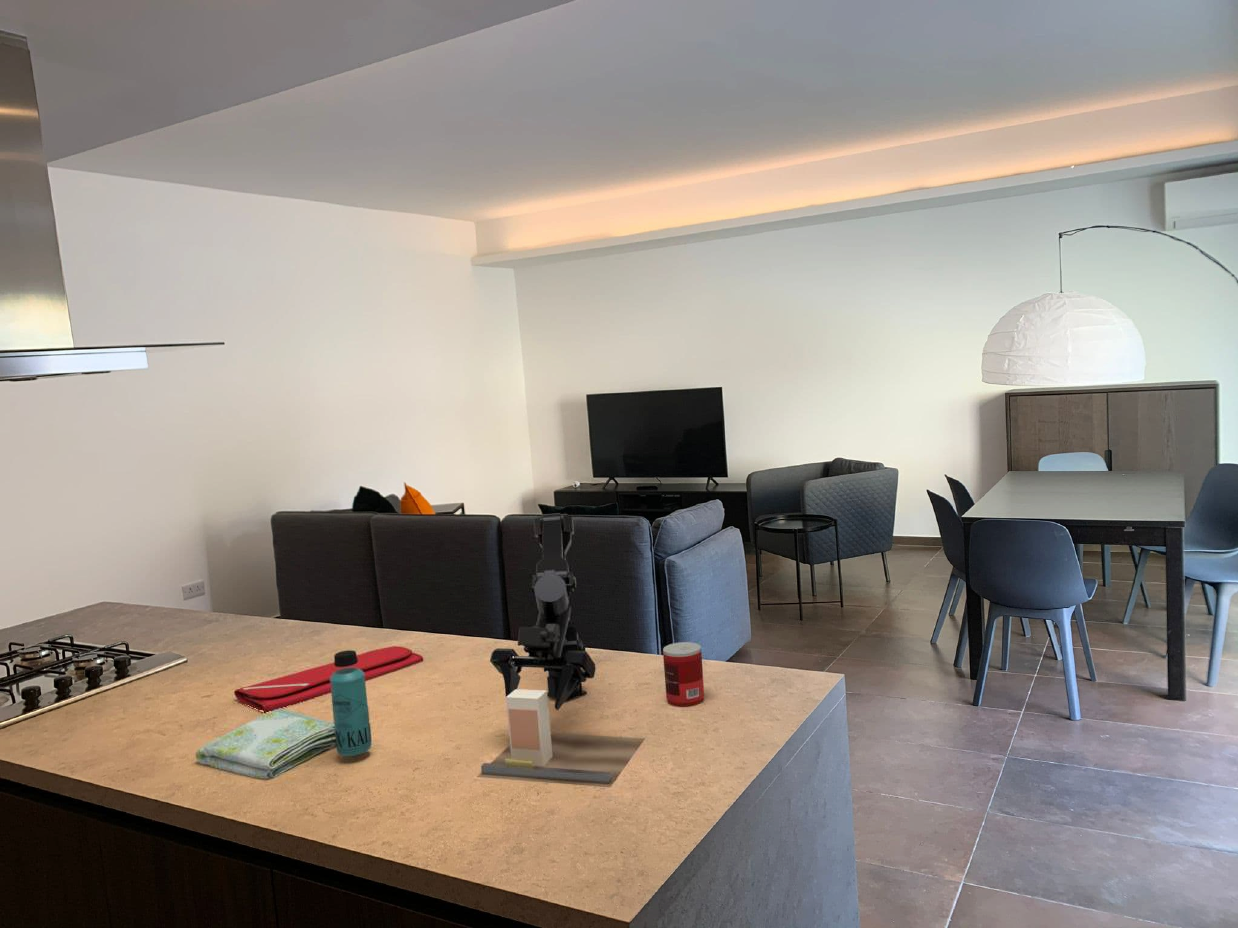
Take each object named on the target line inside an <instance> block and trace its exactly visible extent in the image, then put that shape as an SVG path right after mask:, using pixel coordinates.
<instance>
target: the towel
mask: <svg viewBox="0 0 1238 928" xmlns="http://www.w3.org/2000/svg"><path fill="white" fill-rule="evenodd" d="M333 723H334V721H326V720H322V719H319V718H315V717H312V716H310V715H306V714H303V713H298V712H296V711H291V710H286V709H283V708H282V709H276V710H273V711H271V712H269V713H266V714H262V715H261V716H259V717H257V718H255V719H253V720H251V721H249V722H247V723H245V724H244V725H241V726H239V727H237V728H235V729H233V730H231V731H229V732H227V733H225V734H223V735H221V736H219V737H217V738H215V739H213V740H211V741H210V742H207V743H205V744H204V745H202V746H201V747H199V748H198V749H196V751H195V755H194V756H195V759H196V760H197V762H199V764H200V765H203V766H205V765H206V766H210V767H212V768H215V769H220V770H223V771H227V772H231V773H234V774H239V775H242V776H247V777H250V778H254V779H258V780H270V779H271V778H276V777H278V776H280V775H282V774H283V773H285V772H286V771H288V770H290V769H292V768H293V767H296V766H297V765H300V764H302V763H304V762H306V761H308V760H310V758H311V759H312V757H314V756H315V755H317V754H319V753H321V752H323V751H325V750H330V749H333V748H336V746H335V745H336V743H335V739H336V736H335V735H334V733H335V726H334V724H333Z"/></svg>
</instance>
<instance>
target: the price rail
mask: <svg viewBox="0 0 1238 928" xmlns="http://www.w3.org/2000/svg"><path fill="white" fill-rule="evenodd" d="M481 772H482V775H495V776H508V777H521V778H534V779H547V780H560V781H573V782H586V783H599V784H610V783H611V781H612V778H611V772H602V771H588V770H574V769H561V768H547V767H533V761H532V760H518V759H505V764H491V762H490V763H489V762H484V763H482V764H481V766H480V773H481Z"/></svg>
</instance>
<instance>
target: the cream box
mask: <svg viewBox="0 0 1238 928" xmlns="http://www.w3.org/2000/svg"><path fill="white" fill-rule="evenodd" d="M547 692H548V689H547V690H543V689H524V688H523V689H519V688H517V689H515V690H514V691H513V692H512V693H510V694H509V695H508V696H507V697H506V696H505V703H506V712H507V714H506V715H507V724H508V725H507V726H508V735H509V745H510V748H511V759H518V760H532V761H533V766H545V764H546V763H547V762H548V761H549V760H550V759H551V758H552V757H553V755H552V744H551V733H552V732H551V721H550V712H549V711H550V709H549V698H548V697H549V696H547Z"/></svg>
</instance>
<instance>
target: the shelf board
mask: <svg viewBox="0 0 1238 928" xmlns="http://www.w3.org/2000/svg"><path fill="white" fill-rule="evenodd" d="M645 739H646V738H645V737H628V736H611V735H595V734H593V735H592V734H581V733H580V734H577V733H563V732H561V733H559V732H558V733H557V732H551V744H552V755H553V757H552V758H551V759H550V760H549V761H548V762H547V763H546V764H545V766H533V767H547V768H561V769H574V770H588V771H602V772H611V778H612V781H611V783H610V784H599V783H586V782H573V781H560V780H547V779H534V778H521V777H508V776H495V775H482V772H481V771H480V773H478V775H477V776H476V777H477V778H486V779H497V780H500V779H501V780H512V781H525V782H537V783H538V782H539V783H549V784H550V783H551V784H562V785H563V784H565V785H575V786H576V785H577V786H587V787H588V786H589V787H600V788H601V787H602V788H611V787H612V786H613V784H614V783H615V782H616V781H617V779H618V777H619V776H620V775H621V773H622V772H623V770H624V769H625V768H626V767H627V764H628V763H629V762H630V760H631V759H632V757H633V756H634V755H635V753H637V750H638V749H639V748H640V746H641V745H642V744H643V742H644V741H645ZM505 759H511V748H510V744H509V745H508V746H507V747H506V748H504V750H503V751H502V752H501V753H500V754H499V755H498V756H496V758H494V759H493V760H492V761H491V762H490V763H491V764H505Z"/></svg>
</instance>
